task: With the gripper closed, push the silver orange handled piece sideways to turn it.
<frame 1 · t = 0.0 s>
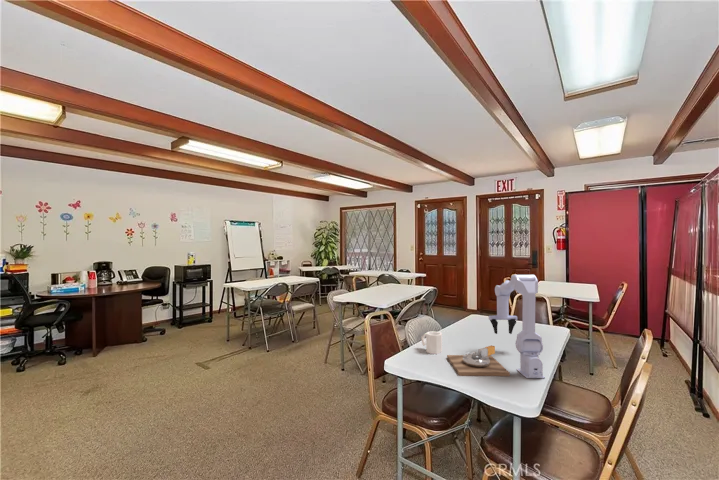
hand: (503, 333, 171), 10 cm above the table, tool pointing down, fingers open, 7 cm apart
silver orange handled piece: (480, 355, 154), point 5 cm above the table, hinge at 0.0°
mug: (431, 351, 174), on the table
base plate: (476, 366, 152), on the table
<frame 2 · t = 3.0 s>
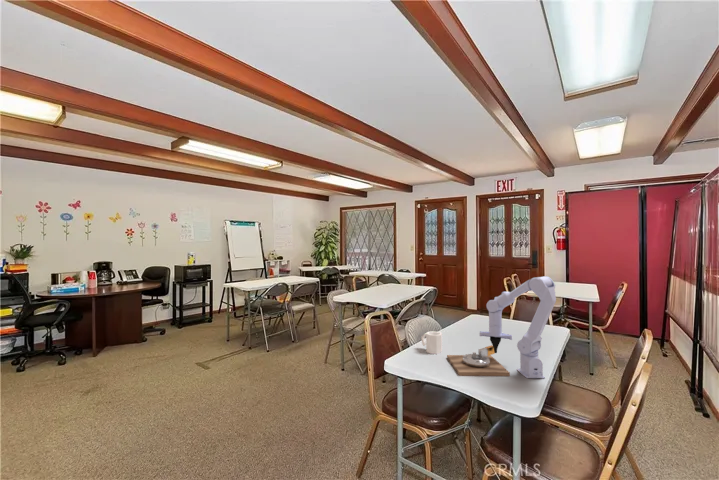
hand: (495, 352, 156), 5 cm above the table, tool pointing down, fingers closed
silver orange handled piece: (480, 355, 154), point 5 cm above the table, hinge at 0.3°, touching gripper
everything else where it was.
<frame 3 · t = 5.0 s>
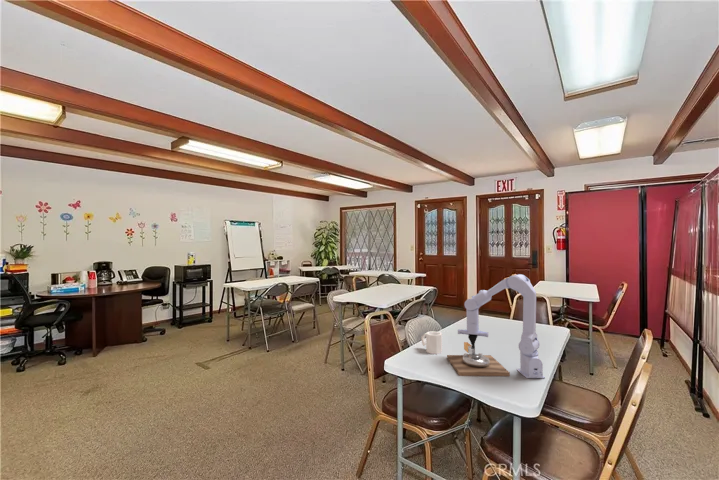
hand: (473, 349, 161), 5 cm above the table, tool pointing down, fingers closed, pressing on silver orange handled piece
silver orange handled piece: (472, 354, 156), point 5 cm above the table, hinge at 58.5°, touching gripper
everything else where it was.
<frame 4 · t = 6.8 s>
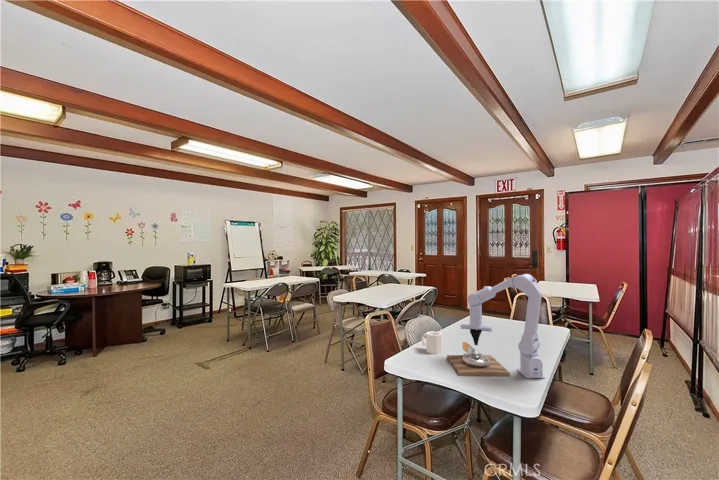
hand: (476, 344, 160), 8 cm above the table, tool pointing down, fingers closed
silver orange handled piece: (472, 354, 156), point 5 cm above the table, hinge at 61.7°
everything else where it was.
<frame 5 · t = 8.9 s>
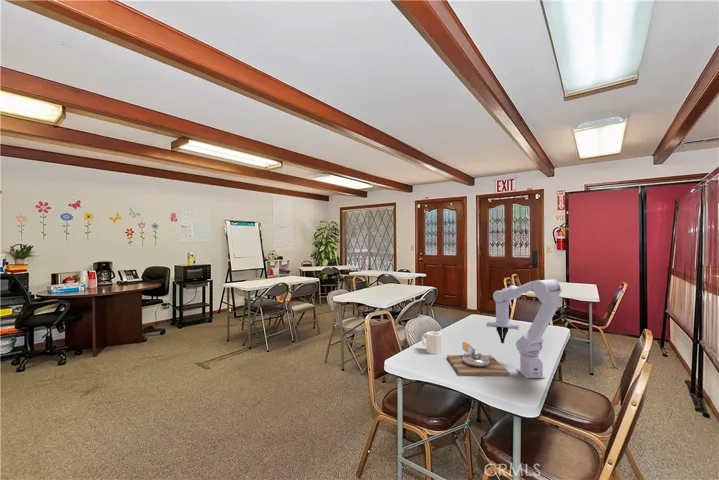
hand: (502, 342, 158), 9 cm above the table, tool pointing down, fingers closed
nothing on the table moved.
at the end: silver orange handled piece at +62° (first picture: +0°) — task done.
